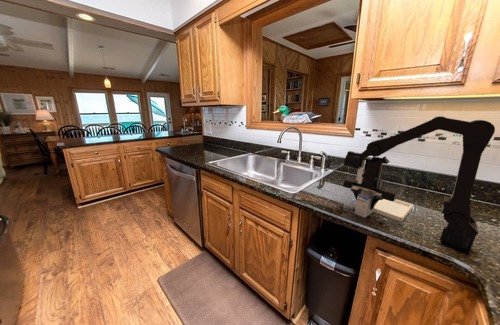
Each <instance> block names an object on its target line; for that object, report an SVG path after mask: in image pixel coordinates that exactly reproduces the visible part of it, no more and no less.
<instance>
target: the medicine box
mask: <svg viewBox="0 0 500 325" xmlns="http://www.w3.org/2000/svg"><path fill="white" fill-rule="evenodd" d="M375 195H376V193H374V192H371V191H365V190H364V192H363V191H362V193H361V194H359V195H358V196H357V201H356V202H355V208H354V214H355V215H357V216H359V217H362V218H365V219H366V218H367V217H368V216H369V215H370V216H371V214H372V213H374V212H373V211H374V208H373V209H372V210H370V209H371V204H372V200H373V197H374V196H375Z"/></svg>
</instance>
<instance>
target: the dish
mask: <svg viewBox="0 0 500 325" xmlns="http://www.w3.org/2000/svg"><path fill="white" fill-rule="evenodd" d="M413 208H414V203H410V202H407V201H403V200H400V199H398V198H397V199H396V200H395V201H389V200H385V199H383V200H379V201H378V202H377V204H376V205H375V207H374V211H373V212H372V213H375V214H377V215H379V216H382V217H385V218H387V219H390V220H393V221H395V222H399V223H402V222H403V221H404V219H405V218H406V217H407V216H408V215H409V214H410V212H411V211H412V210H413Z"/></svg>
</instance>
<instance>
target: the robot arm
mask: <svg viewBox="0 0 500 325" xmlns="http://www.w3.org/2000/svg"><path fill="white" fill-rule="evenodd" d="M495 129H496V127H495V125H494V124H493V123H491V122H490V121H488V120H484V119H474V120H471V121H468V120H462V119H456V118H448V117H446V116H442V115H440V116H435V117H433V118H432V119H430V120H428V121H426V122H423V123H421V124H419V125H416V126H414V127H412V128H409V129H407V130H405V131H403V132H399V133H397V134H395V135H392V136H389V137H384V138H380V139H376V140H374V141H371V142H369V143H367V145H366V149H365V150H363V151H362V152H355V151H351V150H349V151H347V153H346V156H345V158H344V160H343V167H345V168H351V169H355V170H358V169H360V168H363V167H364V164H365V167H364V172H363V174H362V177H363V178H362V183H361V184H360V183H358V180H356V178H355V179H354V178H350V177H349V178H348V179H347V178H346V179H344V180H343V182H342V187H343V188H347V189H350V191H351V192H352V193H353V195H354V198H355V200H356V202H357V196H358V195H359V194H361V193H363V191H365V190H368V191H369V192H373V193H375V194H376V195H375V196H374V197H373V200H372V204H371V209H370V210H372V209H373V208H374V207H375V205H376V204H377V202H378V201H379V200H383V199H385V200H389V201H395V200H396V199H397V200H398V197H399V192H398V190H395V189H392V188H388V187H387V188H385V189H380V188H381V187H382V186H383V182H384V179H383V178H381V177H382V169H383V164H384V165H388V164H390V163H391V162H390V160H389V159H388V158H387V156H386V155H385V156H382V157H379V156H381V155H383V154H385V153H387V152H388V151H390V150H392V149H394V148H395V147H397V146H400V145H401V144H404V143H407V142H409V141H412V140H414V139H417V138H421V137H422V136H425V135H427V134H430V133H432V132H436V131H444V132H449V133H452V134H458V135H461V136H462V154H461V158H460V162H459V166H458V172H457V175H456V180H455V185H454V188H453V192H452V194H451V195H450V197H448V196H444V198H443V204H442V205H441V210H440V214H443V219H444V221H445V222H446V223H447V224H446V226H443V229H442V232H441V235H440V237H439V240H440V245H442V246H445V247H447V248H450V249H452V250H455V251H457V252H461V253H462V254H465V255H468V256H470V255H471V253H472V252H471V250H472V247H473V244H474V242H475V240H476V237H477V236H478V235H479V231H478V225H477V221H476V220H475V218H473V217H472V215H471V214H472V213H471V212H472V211H471V196H472V192H473V188H474V184H475V181H476V176H477V174H478V170H479V165H480V162H481V158H482V154H483V152H484V151H485V150H486V148H487V146H488V144H489V143H490V141H491V140H492V138H493V136H494V134H495V132H496V130H495ZM365 161H366V162H365ZM363 189H364V190H363Z"/></svg>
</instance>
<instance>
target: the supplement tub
mask: <svg viewBox="0 0 500 325" xmlns="http://www.w3.org/2000/svg"><path fill="white" fill-rule="evenodd" d="M365 162H366V160H365ZM364 167H365V164H364ZM364 167H363V168H360V169H357V171H356V172H357V173H356V178H355V180H358V183H360V184H361V183H362V178H363V177H362V174H363V172H364ZM362 191H364V192H365V191H368V190H364V189H363V190H362Z"/></svg>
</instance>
